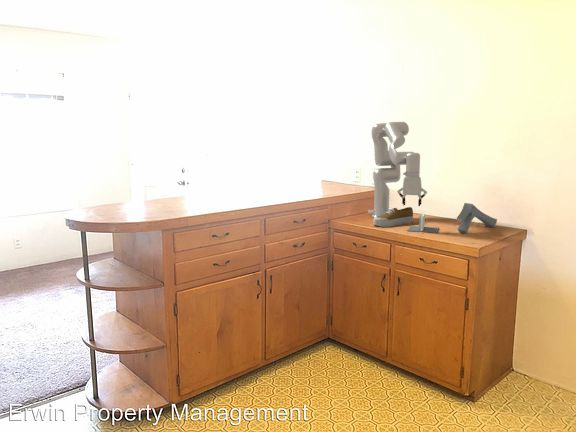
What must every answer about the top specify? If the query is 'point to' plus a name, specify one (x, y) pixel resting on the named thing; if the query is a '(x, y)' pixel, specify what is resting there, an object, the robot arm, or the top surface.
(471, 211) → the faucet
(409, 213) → the sneaker
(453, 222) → the top surface
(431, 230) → the mat
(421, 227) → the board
